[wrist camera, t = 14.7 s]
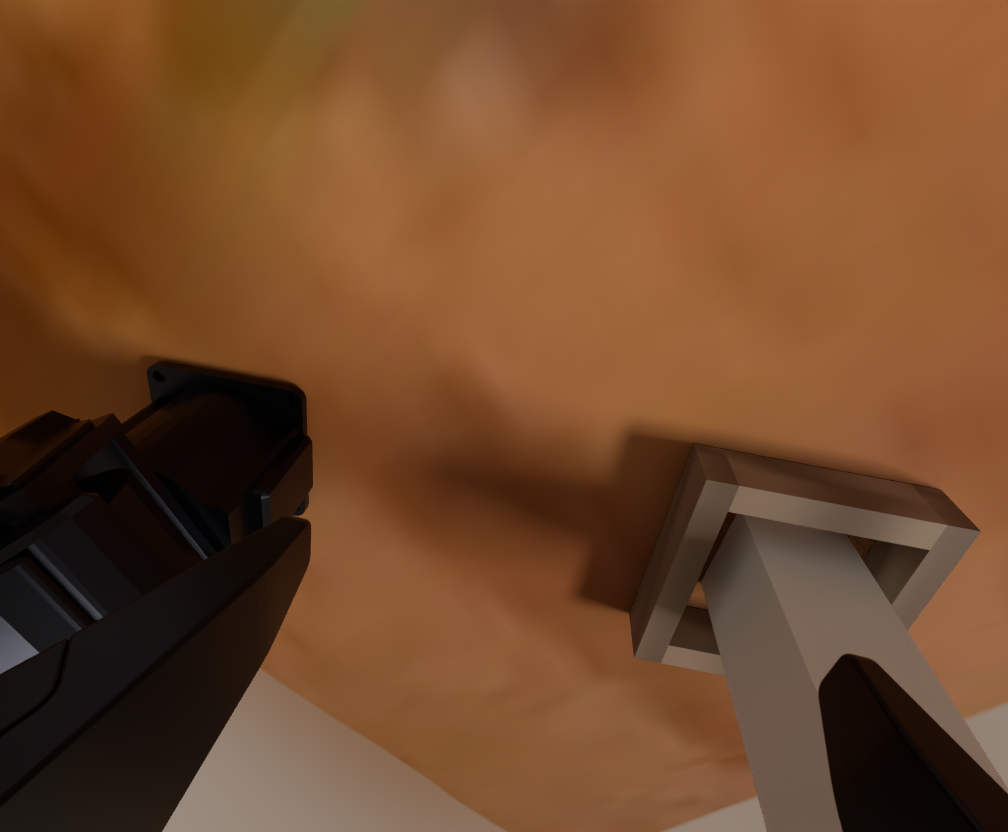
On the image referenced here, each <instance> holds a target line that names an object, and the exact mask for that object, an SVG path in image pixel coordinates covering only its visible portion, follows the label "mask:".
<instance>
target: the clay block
mask: <svg viewBox="0 0 1008 832" xmlns="http://www.w3.org/2000/svg"><path fill="white" fill-rule="evenodd" d="M701 585H702V589H703V592H704V596H705V600H706V604H707V607H708V611H709V615H710V619H711V622H712V626H713V630H714V634H715V637H716V641H717V645H718V649H719V652H720V656H721V660H722V664H723V667H724V671H725V675H726V679H727V683H728V686H729V690H730V694H731V698H732V701H733V705H734V709H735V713H736V716H737V720H738V724H739V728H740V731H741V735H742V739H743V743H744V746H745V750H746V754H747V758H748V761H749V765H750V769H751V773H752V776H753V780H754V784H755V788H756V792H757V795H758V799H759V803H760V807H761V810H762V814H763V818H764V821H765V825H766V829H767V832H842V828H841V824H840V820H839V816H838V812H837V808H836V803H835V799H834V794H833V789H832V783H831V778H830V771H829V765H828V758H827V752H826V745H825V738H824V732H823V725H822V719H821V712H820V705H819V699H818V690H819V686H820V683H821V681H822V680H823V678H824V677H825V676H826V674H827V673H828V672H829V671H830V669H831V668H832V667H833V665H834V664H835V663H836V662H837V660H838V659H839V658H840V657H841V656H842V655H844V654H846V653H850V654H855V655H859V656H863V657H867V658H870V659H872V660H874V661H875V662H876V663H878V664H879V665H880V666H881V667H882V668H883V669H884V670H885V671H886V672H887V673H888V674H889V675H890V676H891V677H892V678H893V679H894V680H895V681H896V682H897V683H898V684H899V685H900V686H901V687H902V688H903V689H904V690H905V691H906V692H907V693H908V694H909V695H910V696H911V697H912V698H913V699H914V700H915V701H916V702H917V703H918V704H919V705H920V706H921V707H922V708H923V709H924V710H925V711H926V712H927V713H928V714H929V715H930V716H931V717H932V718H933V719H934V720H935V721H936V722H937V723H938V724H939V725H940V726H941V727H942V728H943V729H944V730H945V731H946V732H947V733H948V734H949V735H950V736H951V737H952V738H953V739H954V740H955V741H956V742H957V743H958V744H959V745H960V746H961V747H962V748H963V749H964V750H965V751H966V752H967V753H968V754H969V755H970V756H971V757H972V758H973V759H974V760H975V761H976V762H977V763H978V764H979V765H980V766H981V767H982V768H983V769H984V770H985V771H986V772H987V773H988V774H989V775H990V776H991V777H992V778H993V779H994V780H995V781H996V782H997V783H998V784H999V785H1000V786H1001V787H1002V788H1003V789H1004V790H1005V791H1006V792H1007V793H1008V788H1007V787H1006V785H1005V784H1004V782H1003V780H1002V779H1001V777H1000V775H999V774H998V772H997V771H996V770H995V768H994V766H993V764H992V763H991V761H990V760H989V758H988V757H987V755H986V753H985V752H984V750H983V749H982V747H981V746H980V744H979V742H978V741H977V739H976V738H975V736H974V735H973V733H972V731H971V730H970V728H969V727H968V725H967V724H966V722H965V720H964V719H963V717H962V716H961V714H960V712H959V711H958V709H957V708H956V706H955V705H954V703H953V701H952V700H951V698H950V697H949V695H948V694H947V692H946V690H945V689H944V687H943V686H942V684H941V683H940V681H939V679H938V678H937V676H936V675H935V673H934V672H933V670H932V668H931V667H930V665H929V664H928V662H927V661H926V659H925V657H924V656H923V654H922V653H921V651H920V650H919V648H918V646H917V645H916V643H915V642H914V640H913V639H912V637H911V635H910V634H909V632H908V631H907V629H906V628H905V626H904V624H903V623H902V621H901V620H900V618H899V617H898V615H897V613H896V612H895V610H894V609H893V607H892V605H891V604H890V602H889V601H888V599H887V598H886V596H885V594H884V593H883V591H882V590H881V588H880V587H879V585H878V583H877V582H876V580H875V579H874V577H873V576H872V574H871V572H870V571H869V569H868V568H867V566H866V565H865V563H864V561H863V560H862V558H861V557H860V555H859V554H858V552H857V550H856V549H855V547H854V546H853V544H852V543H851V541H850V539H849V538H848V536H847V535H846V534H843V533H837V532H832V531H827V530H822V529H816V528H811V527H806V526H801V525H795V524H790V523H785V522H780V521H774V520H769V519H764V518H758V517H753V516H748V515H743V514H736V516H735V518H734V520H733V522H732V524H731V526H730V528H729V529H728V531H727V533H726V535H725V537H724V539H723V541H722V543H721V545H720V547H719V549H718V550H717V552H716V554H715V556H714V558H713V560H712V562H711V564H710V566H709V568H708V570H707V571H706V573H705V575H704V577H703V579H702V581H701Z"/></svg>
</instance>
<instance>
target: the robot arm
mask: <svg viewBox="0 0 1008 832" xmlns="http://www.w3.org/2000/svg"><path fill="white" fill-rule="evenodd" d="M159 371H160V372H162V373H163V374H164V376H165V377H163V376H162V375H160V373H159ZM147 377H148V383H149V388H150V394H151V400H152V403H151V404H149V405H148V406H147V407H145V408H144V409H142V410H141V411H140V412H138V413H137V414H135V415H134V416H132V417H131V418H130V419H128V420H127V421H125V422H124V423H122V424H121V423H120V422H119V420H118V419H117V418H116V416H115V415H114V414H113V413H111V414H108V415H105V416H102V417H100V418H97V419H94V420H92V421H91V420H90V419H88V420H85V421H80V420H79V418H78V419H73V418H70V417H68V416H65V415H63V414H60V413H58V412H55V411H53V410H52V411H50V412H47V413H45V414H42V415H39V416H37V417H36V418H34V419H32V420H31V421H29V422H27V423H25V424H24V425H22V426H20V427H18V428H17V429H15V430H13V431H12V432H10V433H8V434H6V435H5V436H3V437H1V438H0V832H162V831H163V829H164V827H165V826H166V824H167V822H168V821H169V819H170V817H171V816H172V814H173V812H174V811H175V809H176V807H177V806H178V804H179V802H180V800H181V799H182V797H183V796H184V794H185V792H186V790H187V789H188V787H189V785H190V784H191V782H192V780H193V779H194V777H195V775H196V774H197V772H198V770H199V769H200V767H201V765H202V764H203V762H204V760H205V759H206V757H207V755H208V754H209V752H210V750H211V748H212V747H213V745H214V743H215V742H216V740H217V739H218V737H219V735H220V734H221V732H222V730H223V728H224V727H225V725H226V723H227V722H228V720H229V718H230V717H231V715H232V713H233V712H234V710H235V708H236V707H237V705H238V703H239V702H240V700H241V698H242V697H243V695H244V693H245V692H246V690H247V688H248V687H249V685H250V683H251V681H252V680H253V678H254V677H255V675H256V673H257V671H258V670H259V668H260V666H261V665H262V663H263V661H264V659H265V658H266V656H267V654H268V652H269V650H270V648H271V646H272V644H273V642H274V640H275V638H276V636H277V633H278V631H279V629H280V627H281V625H282V622H283V620H284V618H285V616H286V614H287V612H288V609H289V607H290V605H291V603H292V601H293V598H294V596H295V594H296V592H297V590H298V587H299V585H300V583H301V581H302V579H303V577H304V574H305V572H306V570H307V567H308V564H309V561H310V554H311V524H310V522H309V521H308V520H307V519H303V518H299V517H295V516H293V515H296V516H299V515H302V514H303V513H304V512H305V510H306V509H307V507H308V504H309V497H308V493H309V491H310V490H311V488H312V487H313V461H312V441H311V439H310V437H309V436H308V435H307V408H306V396H305V394H304V392H303V391H302V390H301V389H300V388H298V387H295V386H290V385H285V384H280V383H275V382H269V381H264V380H259V379H253V378H248V377H243V376H237V375H232V374H227V373H222V372H216V371H211V370H206V369H200V368H195V367H190V366H184V365H179V364H174V363H168V362H157V363H155V364H153V365H152V366H150V367H149V368H148V370H147ZM289 396H292V397H294V398H295V400H296V402H293V401H291V400H290V399H289ZM818 699H819V705H820V712H821V719H822V725H823V732H824V738H825V745H826V752H827V758H828V765H829V771H830V778H831V783H832V789H833V794H834V799H835V803H836V808H837V812H838V816H839V820H840V824H841V828H842V832H1008V793H1007V792H1006V791H1005V790H1004V789H1003V788H1002V787H1001V786H1000V785H999V784H998V783H997V782H996V781H995V780H994V779H993V778H992V777H991V776H990V775H989V774H988V773H987V772H986V771H985V770H984V769H983V768H982V767H981V766H980V765H979V764H978V763H977V762H976V761H975V760H974V759H973V758H972V757H971V756H970V755H969V754H968V753H967V752H966V751H965V750H964V749H963V748H962V747H961V746H960V745H959V744H958V743H957V742H956V741H955V740H954V739H953V738H952V737H951V736H950V735H949V734H948V733H947V732H946V731H945V730H944V729H943V728H942V727H941V726H940V725H939V724H938V723H937V722H936V721H935V720H934V719H933V718H932V717H931V716H930V715H929V714H928V713H927V712H926V711H925V710H924V709H923V708H922V707H921V706H920V705H919V704H918V703H917V702H916V701H915V700H914V699H913V698H912V697H911V696H910V695H909V694H908V693H907V692H906V691H905V690H904V689H903V688H902V687H901V686H900V685H899V684H898V683H897V682H896V681H895V680H894V679H893V678H892V677H891V676H890V675H889V674H888V673H887V672H886V671H885V670H884V669H883V668H882V667H881V666H880V665H879V664H878V663H876V662H875V661H874V660H872V659H870V658H867V657H863V656H859V655H855V654H850V653H846V654H844V655H842V656H841V657H840V658H839V659H838V660H837V662H836V663H835V664H834V665H833V667H832V668H831V669H830V671H829V672H828V673H827V674H826V676H825V677H824V678H823V680H822V681H821V683H820V686H819V690H818Z"/></svg>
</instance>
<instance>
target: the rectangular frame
mask: <svg viewBox="0 0 1008 832" xmlns="http://www.w3.org/2000/svg"><path fill="white" fill-rule="evenodd" d="M728 512H732V513H737V514H743V515H748V516H753V517H758V518H764V519H769V520H774V521H780V522H785V523H790V524H795V525H801V526H806V527H811V528H816V529H822V530H827V531H832V532H837V533H843V534H848V535H853V536H858V537H864V538H869V539H874V540H876V541H875V543H874V544H873V546H872V547H871V549H870V551H869V552H868V554H867V555H866V557H865V558H864V560H863V561H864V563H865V565H866V566H867V568H868V569H869V571H870V572H871V574H872V576H873V577H874V579H875V580H876V582H877V583H878V585H879V587H880V588H881V590H882V591H883V593H884V594H885V596H886V598H887V599H888V601H889V602H890V604H891V605H892V607H893V609H894V610H895V612H896V613H897V615H898V617H899V618H900V620H901V621H902V623H903V624H904V626H905V628H906V629H907V630H908V629H909V628H910V626H911V625H912V624H913V622H914V621H915V620H916V618H917V617H918V616H919V614H920V613H921V612H922V610H923V609H924V608H925V606H926V605H927V603H928V602H929V601H930V599H931V598H932V597H933V595H934V594H935V593H936V591H937V590H938V589H939V587H940V586H941V585H942V583H943V582H944V581H945V579H946V578H947V577H948V575H949V574H950V573H951V571H952V570H953V569H954V567H955V566H956V564H957V563H958V562H959V560H960V559H961V558H962V556H963V555H964V554H965V552H966V551H967V550H968V548H969V547H970V546H971V544H972V543H973V542H974V540H975V539H976V538H977V536H978V535H979V534H980V532H981V531H980V530H979V529H978V528H977V527H976V526H975V525H974V524H973V523H972V522H971V521H970V520H969V518H968V517H967V516H966V515H965V514H964V513H963V512H962V511H961V510H960V509H959V508H958V507H957V506H956V505H955V504H954V503H953V502H952V501H951V500H950V499H949V498H948V496H947V495H946V494H945V493H944V492H943V491H942V490H938V489H933V488H928V487H922V486H917V485H912V484H906V483H901V482H896V481H890V480H885V479H880V478H874V477H869V476H864V475H858V474H853V473H848V472H842V471H837V470H832V469H826V468H821V467H816V466H811V465H805V464H800V463H795V462H789V461H784V460H779V459H773V458H768V457H763V456H757V455H752V454H747V453H741V452H736V451H731V450H725V449H720V448H715V447H709V446H704V445H699V444H693V447H692V450H691V452H690V455H689V458H688V460H687V463H686V466H685V468H684V471H683V474H682V476H681V479H680V481H679V484H678V487H677V489H676V492H675V495H674V497H673V500H672V503H671V505H670V508H669V511H668V513H667V516H666V519H665V521H664V524H663V526H662V529H661V532H660V534H659V537H658V540H657V542H656V545H655V548H654V550H653V553H652V556H651V558H650V561H649V563H648V566H647V569H646V571H645V574H644V577H643V579H642V582H641V585H640V587H639V590H638V593H637V595H636V598H635V600H634V603H633V606H632V608H631V611H630V614H629V615H630V624H631V634H632V643H633V652H634V658H637V659H642V660H647V661H652V662H658V663H663V664H668V665H673V666H678V667H683V668H688V669H693V670H698V671H703V672H709V673H714V674H719V675H724V676H726V675H725V671H724V667H723V664H722V660H721V656H720V652H719V649H718V645H717V641H716V637H715V634H714V630H713V626H712V622H711V619H710V615H709V611H707V610H702V609H697V608H692V607H687V606H686V605H687V603H688V601H689V598H690V596H691V594H692V592H693V589H694V587H695V585H696V583H697V580H698V578H699V576H700V574H701V571H702V569H703V567H704V565H705V562H706V560H707V558H708V556H709V553H710V551H711V549H712V547H713V544H714V542H715V540H716V538H717V536H718V533H719V531H720V529H721V527H722V524H723V522H724V520H725V518H726V515H727V513H728Z"/></svg>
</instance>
